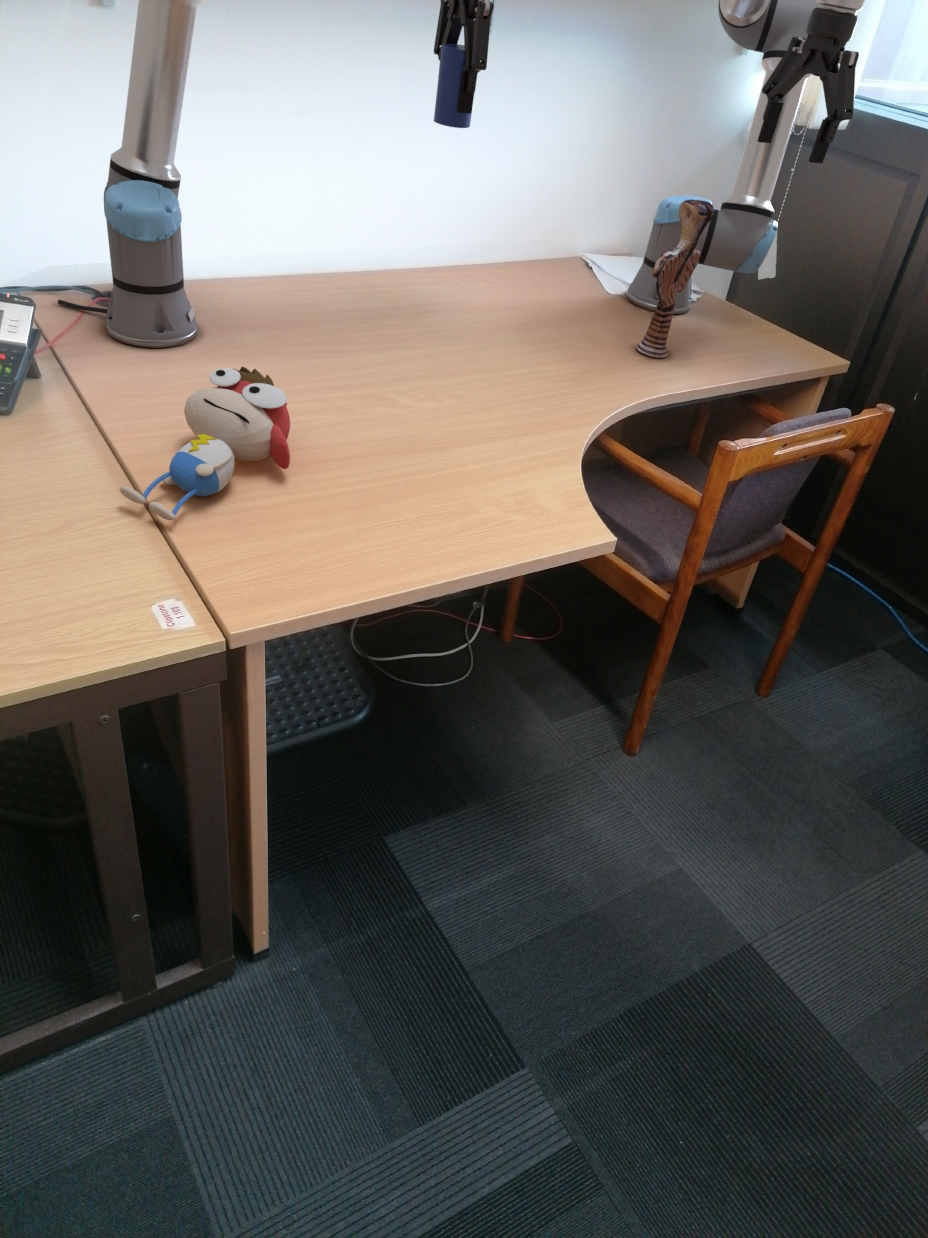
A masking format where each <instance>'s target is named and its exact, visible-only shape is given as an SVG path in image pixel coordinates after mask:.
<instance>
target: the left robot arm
mask: <svg viewBox="0 0 928 1238" xmlns="http://www.w3.org/2000/svg"><path fill="white" fill-rule="evenodd" d="M206 1H207V0H138V4H137V13H136V21H135V27H134V29H135V30H134V38H133V46H132V55H131V64H130V71H129V80H128V89H127V97H126V106H125V112H124V113H125V115H124V122H123V132H122V139H121V146H120V148H118V149H117V150H115V151H114V152H112V153H111V154H110V158H109V159H110V160H109V166H108V168H109V169H108V177H107V181H106V186H105V187H104V191H103V212H104V217H105V219H106V229H107V240H108V249H109V259H110V268H111V277H112V291H111V295H110V300H109V303H108V307H107V308H102V307H95V306H89V305H81V304H77V303H73V302H69V301H67V300H63V299H57V304H58V305H62V306H64V307H68V308H72V309H76V310H81V311H85V312H86V311H87V312H95V313H102V314H106V315H105V326H106V328H105V329H106V332H107V334H108V335H109V336H110V337H111V338H112V339H114V340H116V341H117V342H120V343H123V344H126V345H130V346H133V347H140V348H152V349H157V348H160V349H163V348H171V347H177V346H182V345H184V344H187V343H189V342H191V341H193V340H194V339H195V338H196V337H197V335H198V324H197V320H196V317H195V316H196V311H195V310H194V306H193V305H192V306H191V304H190V300H189V298H188V296H187V293H186V290H185V278H184V260H183V259H184V258H183V244H182V243H183V242H182V241H183V240H182V221H183V220H182V210H181V208H180V202H179V193H180V186H181V180H182V174H181V173H180V172H179V170H178V168H177V167H176V165H175V158H176V157H175V156H176V150H177V143H178V137H179V131H180V124H181V118H182V117H181V116H182V110H183V104H184V96H185V90H186V83H187V77H188V70H189V65H190V64H189V63H190V56H191V51H192V50H191V49H192V45H193V44H192V43H193V37H194V29H195V23H196V16H197V9H198V8H199V6H200V5H201V4H202V3H204V2H206ZM494 8H495V4H494V2H493V1H487V0H440V7H439V13H438V21H437V26H436V32H435V39H434V45H433V54H434V55H436V56H437V58H438V61H440V59H441V49H442V44H443V43H450V44H458V43H459V41H460V36H461V34H462V33H461V32H462V30H463V42H464V44H463V45H464V46H465V67H463V68H462V74H461V82H460V90H459V98H458V106H457V112H458V113H472V112H473V105H474V99H473V98H475V92H476V88H477V87H476V86H477V80H478V74H479V73H480V72H481V71H486V70H487V66H488V55H489V44H490V43H489V42H490V32H491V31H490V30H491V19H492V15H493V13H494V12H493V11H494ZM471 61H472V63H471ZM438 66H439V68H440V65H438ZM439 68H438V69H439ZM438 77H439V74H438V76H437V78H438ZM472 114H473V113H472Z"/></svg>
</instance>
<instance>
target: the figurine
mask: <svg viewBox="0 0 928 1238" xmlns="http://www.w3.org/2000/svg"><path fill="white" fill-rule="evenodd" d="M714 209H715V207H714V205H713V203H712V204H711V203H709V202H707V201H701V200H693V199H691V200H685V201H683V202H682V203H681V204H680V207H679V218H680V222H681V228H682V231H681V238H680V242H679V244H678V246H677V247H675V248H674V250H673V251H672V252H670V251H665V252H664V253H663V254H662V255H661V256H660V259H658V260H657V262H656V263H655V265H654V269H653V271H652V275H653V277H654V278H657V282H656V290H657V296H658V298H659V302H658V304H657V307H656V309H655V311H653V314H652V316H651V319H650V322H649V325H648V327H647V330H646V332H645V335H644V336H643V338H642V340H640V342H639V343H637V344H636V346H635V348H636V350H637V351H638V352H640V353H641V354H643V355H646V356H648V357H651V358H658V359H660V358H662V359H663V358H666V357H668V355H669V352H668V350H667V342H668V341H667V340H668V335H669V332H670V328H671V326H672V322H673V321H672V320H673V316H674V314H673V312H674V305H675V301H676V298H677V293H678V292H681V291H682V290H683V289H684V287H685V286H686V284H687V282H688V280H689V278H690V277H691V278H692V276H691V275H693V273H694V271H695V269H696V268H697V266H698V265H699V264H698V263H699V256H700V251H699V249H698V248H696V245H697V243H698V240H699V237H700V235H701V234H702V232H703V230H704V229H705V227H706V226H707V224H708V223H709V221H710V220H711V219H712V217H713V214H714Z"/></svg>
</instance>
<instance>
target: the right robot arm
mask: <svg viewBox="0 0 928 1238" xmlns="http://www.w3.org/2000/svg"><path fill="white" fill-rule="evenodd" d="M865 2H866V0H718V4H717V5H718V6H717V7H718V9H717V11H718V18H719V21H720V24H721V26H722V28H723V30H724V32H725V33H726V34H727V35H728V37H729V38H730V39H731V40H732V41H733V42H734V43H735V44H736V45H738V46H740V47H741V48H743V49H745V50H748V51H754V52H756V53H757V52H758V53H762V54H763V55H762V58H761V62H760V64H761V66H762V69H763V70H764V72H765V75H764V77H763V82H762V85H761V89H760V92H759V96H758V100H757V103H756V106H755V109H754V113H753V117H752V121H751V124H750V128H749V131H748V134H747V139H746V142H745V146H744V149H743V154H742V155H741V160H740V164H739V167H738V171H737V174H736V177H735V181H734V185H733V189H732V192H731V194H730V196H728V197H727V198H725V199H724V200H722V203H721V205H720V209H715V208H714V214H713V217H712V219H711V220H710V221H709V223H708V224H707V226H706V227H705V229H704V230H703V232H702V234H701V235H700V237H699V240H698V243H697V245H696V248H698V249H699V251H700V256H699V263H698V264H697V265H702V266H705V267H711V268H717V269H721V270H724V271H725V270H726V271H730V272H733V273H741V274H742V273H743V274H748V275H749V274H754V273H756V272H758V270H759V269H760V268H761V267H762V264H763V263H764V261H765V259H766V258H767V256H768V254H769V252H770V249H771V247H772V246H773V242H774V240H775V238H776V234H777V231H778V227H779V223H778V221H776V220H775V219H773V218H774V215H775V212H776V211H775V209H774V208H773V205H772V202H771V201H772V198H773V194H774V190H775V188H776V184H777V180H778V177H779V173H780V171H781V167H782V163H783V161H784V157H785V153H786V150H787V147H788V144H789V141H790V136H791V133H792V130H793V127H794V123H795V119H796V116H797V113H798V110H799V106H800V103H801V99H802V96H803V92H804V90H805V87H806V83H807V80H808V79H809V78H811V77H812V76H815V77H819V80H820V81H821V82H822V88H823V95H824V102H825V108H826V115H827V116H825V117H824V118H823V119H822V121H821V123H820V127H819V130H818V132H817V135H816V138H815V141H814V143H813V147H812V150H811V152H810V155H809V158H808V162H809V163H812V164H813V163H814V164H823V163H824V160H825V157H826V155H827V152H828V149H829V147H830V144H832V143H833V141H834V140H835V137H836V134H837V132H838V129H839V126H840V124H841V123H842V122H844V121H850V120H852V119H853V117H854V106H855V87H856V86H855V84H856V68H857V65H858V64H857V63H858V60H859V57H860V53H859V51H855V50H847V49H846V45H847V43H848V42H850V41H851V40H852V38H853V35H854V32H855V29H856V27H857V24H858V21H859V17H858V16H859V15H857V13H858V12H860V11H862V10H863V7H864V4H865ZM691 199H693V200H701V201H707V202H709V203H711V204H712V205H713V201H712V200H710V199H708V198H704V197H703V198H702V197H701V196H695V195H673V196H668V197H665V198H663V199H662V200H661V201H660V202H659V203H658V206H657V208H656V211H655V215H654V217H653V219H652V227H651V230H650V234H649V238H648V242H647V246H646V249H645V253H644V256H643V261H642V263H641V266H640V268H639V269H638V271H637V272H636V275H635V276H634V278H633V280H632V281H631V283H630V284H629V286H628V288H627V292H626V299H627V300H628V301H629V302H631V303H632V304H633V305H635V306H637V307H639V308H642V309H645V310H646V311H647V310H648V311H651V312H654V311H655V309H656V307H657V304H658V302H659V298H658V296H657V290H656V282H657V278H654V277H653V275H652V271H653V269H654V265H655V263H656V262H657V260H658V259H660V256H661V255H662V254H663V253H664V252H665V251H670V252H672V251H673V250H674V248H675V247H677V246H678V244H679V242H680V238H681V231H682V228H681V222H680V218H679V207H680V204H681V203H682V202H683V201H685V200H691ZM692 275H693V274H692ZM692 275H691V277H690V278H689V280H688V282H687V284H686V286H685V287H684V289H683V290H682V291H681V292H678V293H677V298H676V301H675V305H674V312H673V315H681V314H685V313H688V312H689V311H690V308H691V305H692V301H693V297H692Z"/></svg>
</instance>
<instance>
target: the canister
mask: <svg viewBox="0 0 928 1238" xmlns="http://www.w3.org/2000/svg"><path fill="white" fill-rule="evenodd" d="M471 63H472V61H471ZM439 66H440V68H438V75H439V77H438V76H437V85H436V86H437V88H436V94H435V95H436V97H435V105H434V112H433V113H434V115H433V122H434V123H436V124H438V125H441V126H444V127H449V128H455V129H456V128H457V129H469V128H470V127H471V122H472V121H471V120H472V114H473V113H458V112H457V106H458V98H459V90H460V82H461V74H462V68H463V67H465V46H464V44H458V43H457V44H450V43H443V44H442V49H441V59H440V60H439ZM474 98H475V97H474ZM474 98H473V100H474Z"/></svg>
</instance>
